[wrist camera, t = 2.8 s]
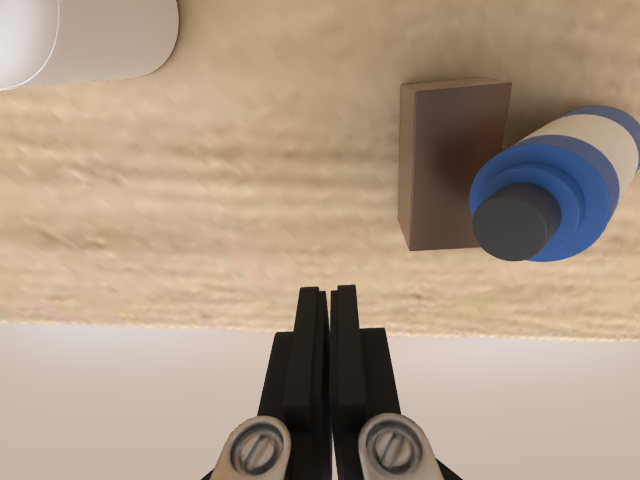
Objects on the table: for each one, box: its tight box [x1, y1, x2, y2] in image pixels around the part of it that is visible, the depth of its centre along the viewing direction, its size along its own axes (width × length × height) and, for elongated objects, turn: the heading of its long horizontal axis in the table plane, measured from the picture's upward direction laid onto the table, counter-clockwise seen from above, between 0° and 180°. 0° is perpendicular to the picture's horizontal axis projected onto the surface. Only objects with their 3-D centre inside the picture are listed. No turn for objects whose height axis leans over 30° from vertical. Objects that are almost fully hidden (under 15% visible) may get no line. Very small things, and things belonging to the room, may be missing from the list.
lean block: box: [398, 77, 512, 251], centre depth 22 cm, size 5×10×5 cm, turn 5°
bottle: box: [469, 106, 640, 262], centre depth 18 cm, size 12×6×13 cm, turn 96°
